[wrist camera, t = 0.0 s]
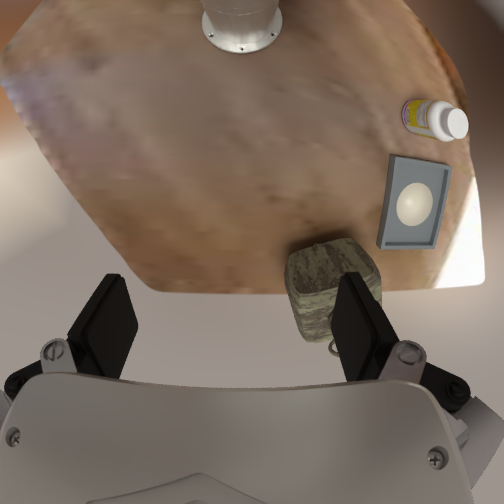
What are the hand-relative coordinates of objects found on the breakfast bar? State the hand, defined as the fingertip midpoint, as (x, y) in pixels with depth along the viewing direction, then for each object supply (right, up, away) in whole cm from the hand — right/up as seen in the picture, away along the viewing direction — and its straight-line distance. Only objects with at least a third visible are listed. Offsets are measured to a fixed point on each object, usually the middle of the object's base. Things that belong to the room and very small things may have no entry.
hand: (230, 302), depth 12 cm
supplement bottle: (+30, +27, +28) cm, 49 cm away
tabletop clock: (+14, +2, +41) cm, 44 cm away
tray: (+33, +12, +36) cm, 50 cm away
